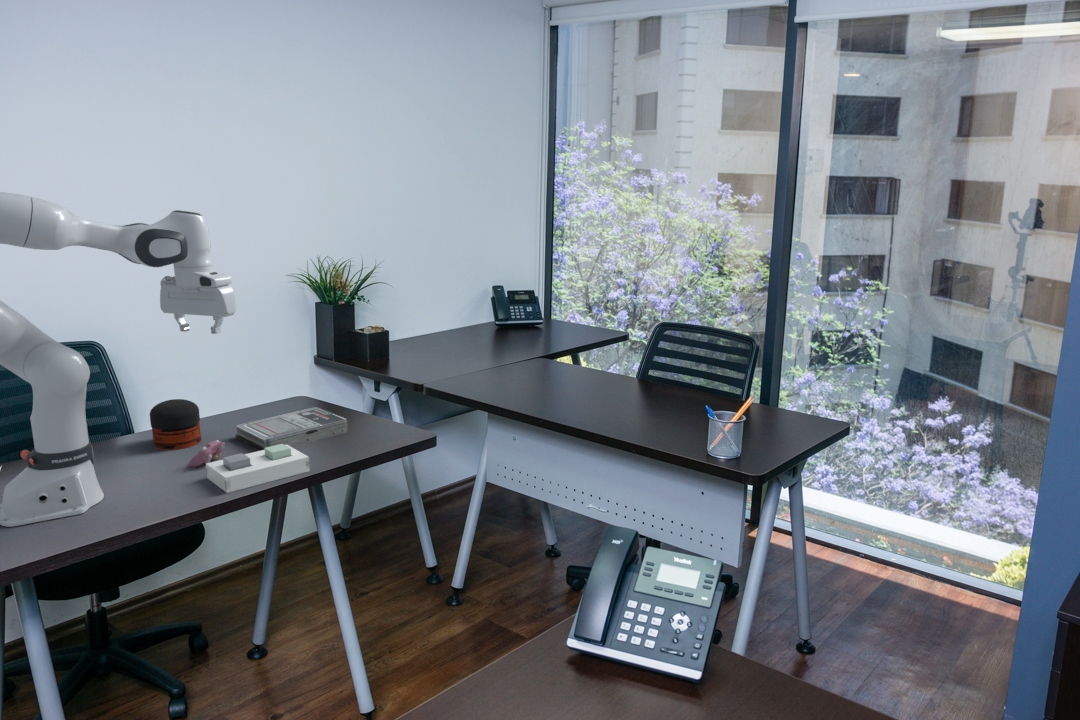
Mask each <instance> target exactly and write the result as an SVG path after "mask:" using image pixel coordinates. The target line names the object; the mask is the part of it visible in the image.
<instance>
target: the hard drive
mask: <svg viewBox="0 0 1080 720" xmlns="http://www.w3.org/2000/svg"><path fill="white" fill-rule="evenodd" d="M348 432H349V431H348V418H346V417H344V416H341V415H338V414H336V413H333V412H331V411H328V410H326V409H323V408H321V407H317V406H313V407H309V408H305V409H301V410H297V411H292V412H288V413H283V414H279V415H275V416H271V417H270V416H269V417H266V418H262V419H257V420H253V421H252V420H251V421H248V422H244V423H239V424H237V425H236V434H235V439H236V440H238V441H240V442H242V443H244V444H245V445H248V446H250V447H252V448H254V449H256V450H257V451H261V450H264V448H266V447H270V446H274V445H279V444H284V445H289V446H290V447H292V448H294V447H297V446H301V445H304V444H308V443H312V442H315V441H318V440H319V441H320V440H323V439H327V438H331V437H334V436H335V437H336V436H339V435H342V434H346V433H348Z"/></svg>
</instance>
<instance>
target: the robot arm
mask: <svg viewBox="0 0 1080 720" xmlns="http://www.w3.org/2000/svg"><path fill="white" fill-rule="evenodd" d="M210 238H211V237H210V232H209V227H208V223H207V220H206V218H205V217H204V216H203V214H201V213H198V212H193V211H192V212H191V211H187V210H186V211H185V210H179V209H178V210H172V211H171V212H170V213H169V214H168V215H166V216H165V217H163V218H162V219H160V220H159V221H156V222H154V223H151V224H147V223H144V222H136V223H130V224H125V225H116V224H115V225H114V224H110V223H104V222H99V221H94V220H90V219H85V218H83V217H80V216H77V215H75V214H74V213H72V212H70V210H69V209H67V207H64V206H62V205H60V204H57V203H53V202H51V201H49V200H46V199H41V198H39V197H35V196H30V195H25V194H19V193H18V194H17V193H11V192H5V191H4V192H3V191H0V245H9V246H14V247H19V248H25V249H32V250H42V251H43V250H44V251H58V250H61V249H64V248H67V247H72V246H74V247H76V246H78V247H84V248H85V247H86V248H91V249H98V250H103V251H108V252H113V253H115V254H118V255H119V256H120V257H122V258H124V259H126V260H127V261H129V262H131V263H133V264H135V265H143V266H147V267H149V268H162V267H166V266H168V265H172V264H173V271H174V276H170V275H166V276H164V277H163V278H162V279H161V280H160V283H159V284H160V291H159V292H160V293H159V303H160V306H159V307H160V310H161V311H162V312H163V314H172V315H173V316H174V317H173V318H174V319H175V321H176V323H177V325H179V331H180V332H185V333H186V332H189V331H190V323H187V322H186V319H185V317H186V316H185V315H188V316H189V315H191V316H205V317H206V316H207V317H212V320H213V321H214V323H213V326H210V331H211V332H210V333H211V334H214V335H216V334H218V335H219V334H221V332H222V331H221V326H222V324H223V323H224V317H225V318H227V317H231V316H233V315H235V313H236V311H237V304H236V296H235V290H234V288H233V287H232V286H231V284H232V283H233V279H232V276H231V275H229V274H227V273H225V272H223V271H220V270H218V269H216V268H214V264H213V261H212V258H211V248H212V246H211V239H210ZM0 365H1V366H2V367H4V368H5V369H6V370H8V371H10V372H11V373H13V374H14V375H16V376H17V377H19V378H21V379H22V380H23V381H25V382H26V383H29V384H30V386H31V388H32V411H31V414H30V426H31V432H32V438H33V445H34V448H33V449H32V450H31V451H30V450H28V449H23V450H22V451H20V454H19V455H20V457H21V458H22V460H24V461H25V463H26V467H25V468H24V469H23V470H22V471H21V472H20V473H19V474H18V475H16V476H15V477H14V478H13V479H12V480H11V481H9V482H8V483H7V484H6V485H5V487H4V489H3V495H2V503H0V525H1V526H3V527H7V528H8V527H10V528H12V527H17V526H23V525H29V524H32V523H33V524H34V523H39V522H44V521H50V520H54V519H61V518H65V517H66V518H67V517H71V516H76V515H81V514H83V513H86V512H87V511H88V510H89V509H90V508H91V507H93V506H94V505H97V504H99V503H100V502H101V501H102V500H103V499H104V498H105V494H104V492H103V490H102V488H101V486H100V483H99V481H98V478H97V475H96V471H95V468H94V463H95V462H94V461H95V455H94V449H93V445H92V442H91V441H90V440H89V432H88V423H87V416H86V415H87V414H86V400H87V387H88V385H87V384H88V382H89V380H90V375H91V372H90V366H89V363H87V361H86V358H84V356H83V355H82V354H81V353H80V352H79V351H77V350H75V349H73V348H72V347H70V346H67V345H64V344H63V343H60V342H59V341H57V340H55V339H53V338H52V337H51V336H49V335H48V334H47V333H46V332H44V331H43V330H42V329H40V328H39V327H37V326H36V325H35V324H33V323H32V322H31V321H30V320H29V319H27V318H26V317H25V316H23V315H22V314H21V313H19V312H18V311H17V310H15V309H14V308H12V307H11V306H9V305H8V304H6V303H5V302H3V301H2V300H1V299H0Z"/></svg>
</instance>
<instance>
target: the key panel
mask: <svg viewBox="0 0 1080 720" xmlns="http://www.w3.org/2000/svg"><path fill="white" fill-rule="evenodd" d="M286 446H287V447H289V448H291V456H290V457H286V458H282V459H278V460H274V461H272V460H270V459H269V458H267V457H265V450H261V451H259V450H257V451H253V452H248V453H245V454H244V453H243V454H244V455H246V456H247V457H249V458H250V464H251V466H249V467H245V468H241V469H237V470H233V471H229V470H228V469H226V468H225V467H224V465H223V459H219V460H214V461H212V462H210V463H206V464H205V469H206V478H207V479H208V480H209V481H210V482H212V483H213V484H214V485H216V486H217V487H219V489H221V490H223V491H224V492H225V493H226V494H229V493H232V492H236V491H239V490H243V489H247V488H250V487H251V488H252V487H255V486H258V485H263V484H267V483H271V482H274V481H277V480H282V479H287V478H289V477H290V478H291V477H292V476H297V475H300V474H304V473H308V472H310V469H311V468H310V467H311V466H310V456H308V455H307V454H304V453H302V452H301V451H299V450H298V449H296V448H294V447H290V446H289V445H286Z"/></svg>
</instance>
